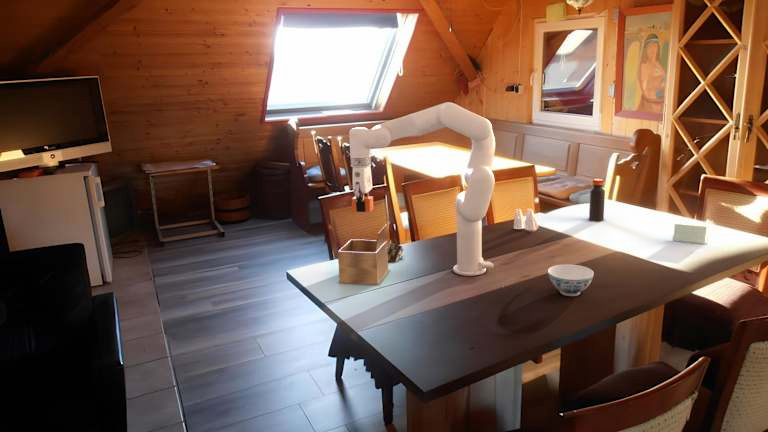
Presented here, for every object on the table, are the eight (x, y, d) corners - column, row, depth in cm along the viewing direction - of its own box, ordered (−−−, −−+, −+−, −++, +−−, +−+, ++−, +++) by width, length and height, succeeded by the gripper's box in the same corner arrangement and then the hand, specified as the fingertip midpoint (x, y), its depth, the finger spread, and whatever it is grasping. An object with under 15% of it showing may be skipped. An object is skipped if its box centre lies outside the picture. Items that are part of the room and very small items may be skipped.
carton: (388, 270, 236) (387, 240, 233) (377, 285, 222) (376, 253, 219) (352, 269, 240) (350, 239, 237) (339, 282, 226) (337, 251, 223)
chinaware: (586, 304, 197) (587, 282, 195) (541, 296, 204) (542, 275, 203) (597, 288, 209) (598, 267, 207) (554, 282, 217) (555, 262, 215)
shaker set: (539, 231, 279) (539, 208, 276) (533, 233, 276) (534, 210, 274) (518, 227, 288) (518, 204, 285) (512, 228, 285) (513, 206, 283)
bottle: (590, 221, 292) (591, 181, 287) (587, 217, 299) (589, 178, 294) (604, 221, 291) (606, 181, 286) (602, 217, 297) (604, 178, 292)
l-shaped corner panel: (707, 236, 261) (709, 219, 259) (704, 244, 251) (706, 226, 249) (677, 233, 267) (678, 217, 265) (673, 240, 257) (674, 223, 255)
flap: (386, 239, 233) (387, 239, 233) (375, 251, 219) (376, 251, 219) (389, 221, 231) (389, 221, 231) (378, 232, 217) (378, 232, 216)
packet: (373, 209, 225) (373, 196, 224) (370, 212, 221) (369, 198, 219) (355, 208, 227) (355, 195, 225) (352, 211, 222) (351, 198, 221)
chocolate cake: (398, 265, 244) (407, 239, 249) (382, 260, 244) (391, 234, 250) (397, 273, 252) (406, 249, 257) (381, 268, 253) (390, 244, 258)
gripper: (363, 165, 210) (366, 216, 215) (376, 158, 226) (378, 205, 230) (343, 165, 212) (346, 215, 217) (358, 158, 228) (360, 204, 232)
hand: (363, 209), depth 224 cm, fingers closed on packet, 4 cm apart
